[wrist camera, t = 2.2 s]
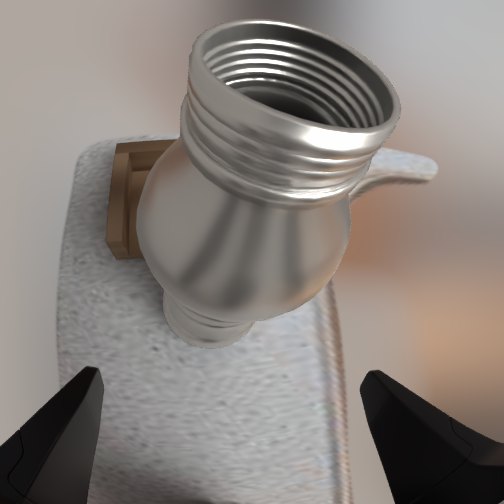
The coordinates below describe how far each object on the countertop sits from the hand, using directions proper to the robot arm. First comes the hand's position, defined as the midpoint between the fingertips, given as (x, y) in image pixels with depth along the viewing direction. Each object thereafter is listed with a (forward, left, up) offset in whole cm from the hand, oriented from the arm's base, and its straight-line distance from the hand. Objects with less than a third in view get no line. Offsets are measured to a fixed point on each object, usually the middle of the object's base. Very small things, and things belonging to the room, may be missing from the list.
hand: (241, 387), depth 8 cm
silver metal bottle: (+5, 0, -13) cm, 14 cm away
